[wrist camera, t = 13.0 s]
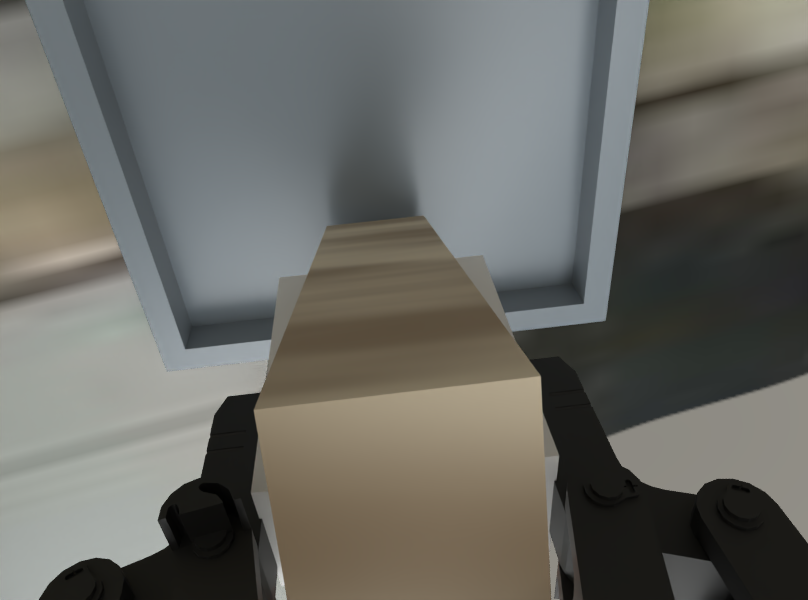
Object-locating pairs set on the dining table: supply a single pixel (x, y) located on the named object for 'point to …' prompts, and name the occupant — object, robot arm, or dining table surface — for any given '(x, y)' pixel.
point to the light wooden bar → (402, 430)
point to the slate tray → (348, 145)
